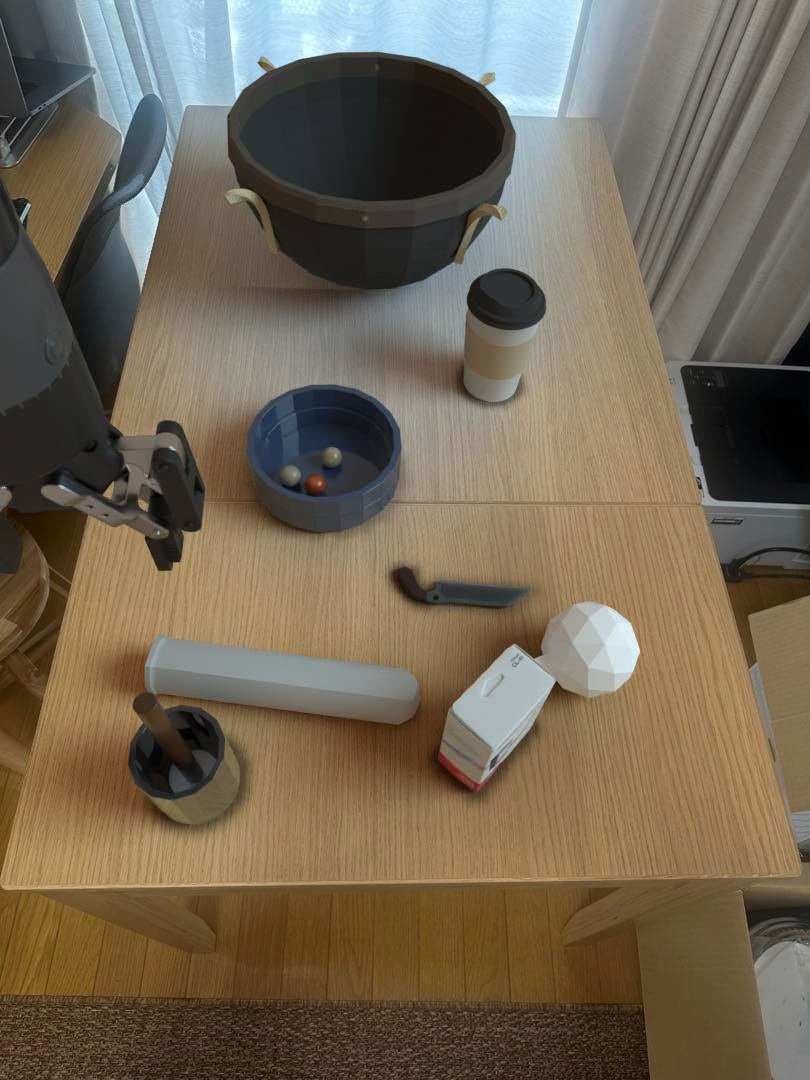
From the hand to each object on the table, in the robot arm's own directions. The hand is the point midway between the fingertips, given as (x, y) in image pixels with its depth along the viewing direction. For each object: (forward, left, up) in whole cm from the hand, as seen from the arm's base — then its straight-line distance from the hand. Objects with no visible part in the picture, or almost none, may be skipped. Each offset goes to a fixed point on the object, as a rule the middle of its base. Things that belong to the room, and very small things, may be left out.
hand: (91, 559), depth 42 cm
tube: (+9, +3, -31) cm, 32 cm away
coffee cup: (+34, +43, -31) cm, 63 cm away
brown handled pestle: (+1, -5, -30) cm, 31 cm away
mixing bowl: (+13, +29, -31) cm, 44 cm away
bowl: (+20, +67, -31) cm, 77 cm away
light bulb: (+36, +4, -31) cm, 47 cm away
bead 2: (+12, +27, -29) cm, 41 cm away
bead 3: (+13, +30, -29) cm, 44 cm away
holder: (+1, -5, -31) cm, 31 cm away
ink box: (+27, -3, -31) cm, 41 cm away
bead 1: (+9, +28, -29) cm, 41 cm away
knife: (+27, +13, -31) cm, 43 cm away
